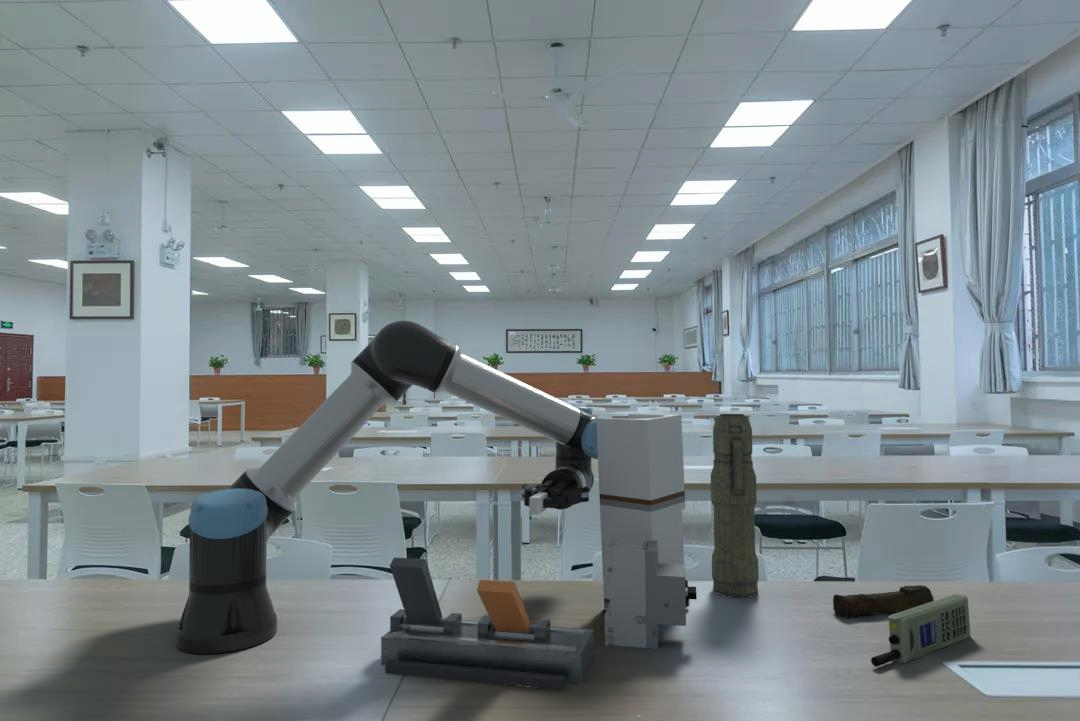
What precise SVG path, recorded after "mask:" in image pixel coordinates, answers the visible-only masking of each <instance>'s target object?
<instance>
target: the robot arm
mask: <svg viewBox="0 0 1080 721" xmlns="http://www.w3.org/2000/svg"><path fill="white" fill-rule="evenodd" d="M350 369H351V370H350V371H351V372H350V375H348V376H347V377H346V378H345V380H343V382H341V384H340V385H339V386H338V387H336V389H335V390H334V391H332V392H331V394H329V396H328V397H327V398H326V399H325V400H324V401H323V402H322V403H321V404H320V406H318V408H316V410H314V411H313V412H312V414H310V416H309V417H308V418H307V419H306V420H305V421H304V422H303V423H302V424H301V425H300V426H299V427H298V428H297V429H296V430H295V431H294V432H293V433H292V434H291V435H290V436H289V437H288V438H287V440H285V441H284V442H283V443H282V444H281V445H280V446H279V447H278V449H277V450H276V451H275V452H274V453H273V454H272V455H271V456H270V457H269V458H268V459H267V460H266V461H265V462H264V463H263V464H262V465H261V466H260V467H257V468H247V469H246V470H245V471H244V472H243V473H242V474H241V475H240V476H239V477H238V478H237V479H236V480H235V481H234V482H233V483H232V484H231V485H230V486H229V487H228V488H225V489H219V490H213V491H211V492H207V493H204V494H202V495H200V496H197V497H196V498H195V499H194V500H193V502H192V503H191V505H190V512H189V516H188V526H189V566H188V567H189V568H188V569H189V574H188V575H189V578H188V579H189V581H188V586H189V588H188V596H187V599H186V602H185V606H184V609H183V611H182V613H181V616H180V617H181V618H180V619H179V620H180V621H179V624H178V626H177V628H176V640H175V641H176V642H175V643H176V647H177V648H178V649H179V650H180V651H184V652H186V653H192V654H203V655H205V654H209V655H210V654H221V653H229V652H234V651H235V652H236V651H240V650H245V649H248V648H252V647H254V646H258V645H259V644H263V643H264V642H267V641H268V640H270V639H272V638H273V637H274V636H275V635H276V634H277V631H278V615H277V614H276V612H275V609H274V605H273V602H272V598H271V596H270V592H269V591H268V588H267V587H268V586H267V542H268V541H269V539H270V538H271V536H272V535H273V534H274V533H275V532H276V531H277V530H278V529H279V527H281V525H282V524H283V523H284V522H285V521H286V520H287V519H288V518H289V517H290V516H291V515H292V513H294V511H296V498H297V497H298V495H300V493H302V492H303V491H304V489H305V488H306V487H307V486H308V485H309V484H310V483H311V482H312V481H313V480H314V479H315V478H316V477H317V476H318V475H319V473H320V472H322V470H323V469H324V468H325V467H326V466H328V464H329V463H330V462H331V461H332V460H333V458H335V456H336V455H337V454H338V453H339V452H340V451H341V450H342V449H343V448H344V447H345V446H346V444H348V442H349V441H350V440H352V439H353V437H354V436H355V435H357V433H358V432H359V431H360V430H361V429H362V428H363V427H364V426H365V425H366V423H367V422H368V421H370V420H371V418H372V417H373V416H374V415H375V414H376V413H377V412H378V411H379V410H380V408H382V407H383V406H384V405H385V404H396V403H397V402H398V401H399V400H400V399H401V398H402V397H403V395H405V394H406V392H407V391H408V390H409V389H410V388H411V387H412V386H415V387H419V388H421V389H426V390H428V391H429V392H432V393H434V394H437V393H440V392H445V393H448V394H450V395H452V396H454V397H456V398H458V399H461V400H462V401H466V402H467V403H470V404H472V405H474V406H476V407H479V408H481V409H483V410H485V411H487V412H489V413H492V414H495V415H497V416H499V417H500V418H503V419H505V420H507V421H510V422H512V423H513V424H514V423H515V424H516V425H519V426H522V428H526V429H528V430H529V431H532V432H534V433H537V434H539V435H541V436H543V437H545V438H547V439H550V440H552V441H554V442H555V466H554V467H555V468H554V470H552V471H550V472H549V473H547V474H546V475H545V477H544V478H543V480H542V481H541V484H536V485H535V487H534V484H528V483H523V484H522V485H521V487H522V488H521V489H522V490H521V494H522V495H521V498H522V499H523V500H524V502H523V503H524V504H523V505H524V506H525V507H529V511H528V515H535V516H536V515H537V516H539V515H540V514H542V513H543V512H545V511H546V510H547V509H555V510H561V511H562V510H567V509H568V508H571V507H573V506H575V505H578V504H581V503H588V502H589V501H590V491H592V488H593V487H594V483H595V476H594V472H593V470H592V459H594V460H598V449H597V426H596V418H599V417H598V416H595V415H593V412H592V409H591V407H589V406H579V405H578V406H576V405H575V406H574V405H572V404H570V403H568V402H566V401H564V400H563V399H562V400H561V399H559V398H557V397H555V396H553V395H551V394H548V393H546V392H544V391H542V390H540V389H538V388H536V387H533V386H531V385H529V384H527V383H525V382H523V381H521V380H519V379H517V378H515V377H513V376H510V374H509V375H508V374H507V373H504V372H502V371H500V370H498V369H495V368H493V367H491V366H489V365H487V364H485V363H483V362H480V361H478V360H476V359H474V358H472V357H471V356H468V355H466V354H463V353H462V352H461V350H460V348H459V345H458V344H456V343H453V342H452V341H450V340H448V339H446V338H444V337H442V336H440V335H438V334H436V333H435V332H433V331H432V330H430V329H428V328H426V327H425V326H423V325H421V324H420V323H417V322H413V321H410V320H397V321H393V322H391V323H389V324H386V325H385V326H384V327H382V328H381V329H380V330H379V332H377V334H376V335H375V336H374V338H373V339H372V340H371V341H370V342H369V343H368V344H367V346H365V347H364V348H363V350H361V352H360V353H359V354H358V355H357V356H356V357H355V358H354V359H353V360H352V361H351V362H350Z"/></svg>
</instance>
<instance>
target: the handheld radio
mask: <svg viewBox="0 0 1080 721" xmlns="http://www.w3.org/2000/svg"><path fill="white" fill-rule="evenodd" d="M969 610H970V609H969V598H968V597H967V595H963V594H956V593H955V594H951V595H948V596H945V597H942V598H939V599H936V600H934V601H932V602H929V603H926V604H923V605H920V606H917V607H914V608H911V609H908V610H905V611H898V612H896V613H893V614H890V615H889V616H888V617H887V619H888V630H889V631H888V632H889V636H888V642H889V645H890V650H889V651H887V652H884V653H881V654H879V655H875V656H873V657H871V659H870V662H871V664H872V666H874V667H880V666H883V665H885V664H888V663H890V662H893V661H896V662H900V663H903V664H906V663H909V662H911V661H914V660H916V659H918V658H921V657H923V656H926V655H929V654H931V653H934V652H936V651H939V650H942V649H944V648H946V647H949V646H951V645H953V644H957V643H959V642H961V641H964V640H966V639H969V638H971V625H970V624H971V623H970V613H969Z"/></svg>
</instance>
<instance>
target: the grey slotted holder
mask: <svg viewBox="0 0 1080 721" xmlns="http://www.w3.org/2000/svg"><path fill="white" fill-rule="evenodd" d="M462 614H463V613H458V612H457V613H456V612H455V613H454V612H451V613H450V614H449V615H447V617H445V618H444V617H442V619H444V620H443V627H432V626H420V625H407V624H405V619H406V614H405V611H404V608H403V609H402V608H400V609H399V610H397V611H396V612H395V613H393V614H392V615H391V616H390V617H389V623H390V624H389V625H390V626H389V631H387V632H386V633H385V634H384V635H382V636H381V637H380V642H381V643H380V658H381V659H380V662H381V663H380V665H382V666H385V663H386V662H388V661H389V660H398V661H409V662H420V663H431V664H442V665H453V666H463V667H474V668H485V669H496V670H507V671H518V672H529V673H539V674H550V675H561V676H565V683H569V682H572V683H571V684H579V683H582V684H583V682H582V681H584V679H585V677H586V675H587V672H588V670H589V668H590V665H591V662H592V661H593V658H594V629H593V628H592V629H590V628H580V627H579V628H578V627H577V628H576V627H566V626H564V627H563V626H553V625H551V619H539V620H538V622H537V623H536V624H531V626H535V627H534V634H522V633H509V632H496V631H493V630H492V626H493V623H492V621H491V619H490V617H489V615H484V616H483V617H482V618H481V619H480V620H475V619H474V620H473V619H462V617H463V616H462ZM588 667H589V668H588ZM585 674H586V675H585ZM584 676H585V677H584Z"/></svg>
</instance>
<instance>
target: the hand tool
mask: <svg viewBox="0 0 1080 721" xmlns="http://www.w3.org/2000/svg"><path fill="white" fill-rule="evenodd" d="M932 601H935V600H934V596H933V594H932V591H931V589H930V588H929V587H928V586H926V585H905V586H900V588H899V590H898V591H889V592H879V593H869V594H865V593H859V594H848V595H841V594H840V595H839V594H834V595H833V597H832V606H833V608H832V609H833V611H834V614H835V616H836V615H837V616H838V617H840V618H843V619H846V618H847V617H851V618H854V617H855V616H859V615H868V614H882V613H890V612H902V611H905V610H908V609H911V608H914V607H917V606H920V605H923V604H926V603H929V602H932Z"/></svg>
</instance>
